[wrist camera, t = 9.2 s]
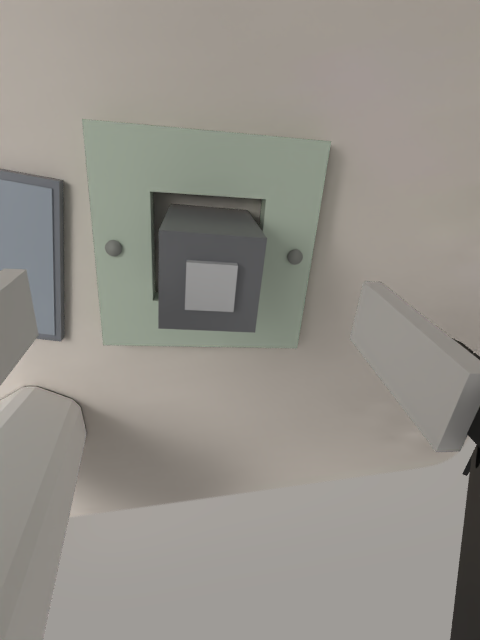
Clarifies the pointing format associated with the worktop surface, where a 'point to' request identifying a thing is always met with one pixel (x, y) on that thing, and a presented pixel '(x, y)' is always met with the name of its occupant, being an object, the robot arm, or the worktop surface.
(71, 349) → the worktop surface
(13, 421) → the cup
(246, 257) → the block
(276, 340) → the outlet plate
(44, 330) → the phone
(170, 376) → the worktop surface
